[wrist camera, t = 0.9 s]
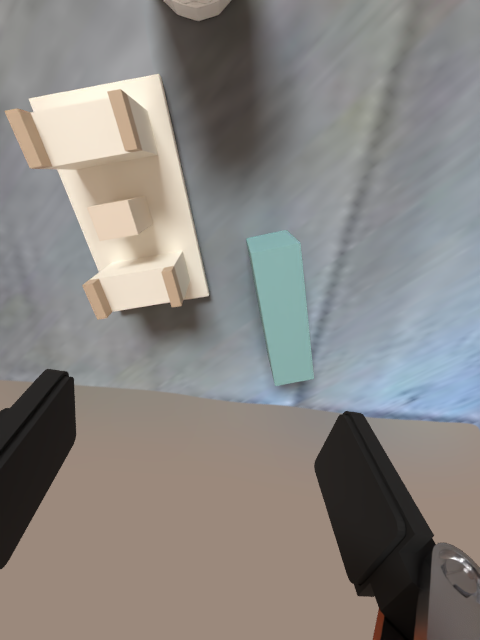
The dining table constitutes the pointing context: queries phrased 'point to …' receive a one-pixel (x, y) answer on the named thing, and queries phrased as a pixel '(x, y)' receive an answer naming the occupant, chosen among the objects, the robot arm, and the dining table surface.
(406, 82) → the dining table surface
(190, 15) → the white cup
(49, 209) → the dining table surface
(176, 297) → the stand
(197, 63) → the dining table surface
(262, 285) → the teal bar
